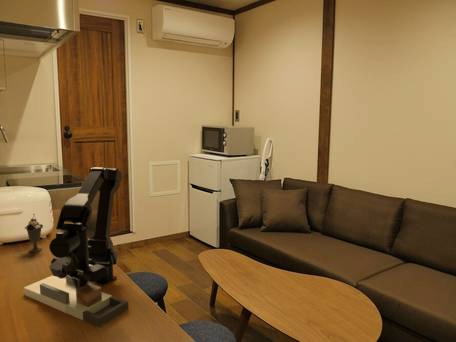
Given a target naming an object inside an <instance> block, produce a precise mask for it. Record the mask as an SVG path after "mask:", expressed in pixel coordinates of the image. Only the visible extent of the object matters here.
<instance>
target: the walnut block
mask: <svg viewBox="0 0 456 342" xmlns="http://www.w3.org/2000/svg"><path fill="white" fill-rule="evenodd" d="M101 292H102V287H101V286H99V285H96V284H94V285H93V284H91V283H89V284H87V285H85V286H83V287H81V288H79V289H77V290H76V301H77V303H79V304H81V305H84V306H86V307H90V306H91V305H93V304H95V303H97V302H99V301H101V300H102V293H101Z"/></svg>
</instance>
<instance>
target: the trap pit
mask: <svg viewBox="0 0 456 342" xmlns="http://www.w3.org/2000/svg"><path fill="white" fill-rule="evenodd" d="M109 300H110V304H109V305H107V306H106V307H104V308H102V309H100V310H99V311H97V312H95V313H91V312H89V311H87V310H86V311H84V312H83V320H82V321H84V322H86V323H88V324H91V325H93V326H95V327H97V328H101V327H102V326H103V325H106V324H107V323H109V322H110V321H112V320H114V319H115V318H117V317H118V316H121V315H122V314H123V313H125V312H126V311H129V301H128V300H124V299H122V298H120V297H117V296H114V295H111V297H109Z"/></svg>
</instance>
